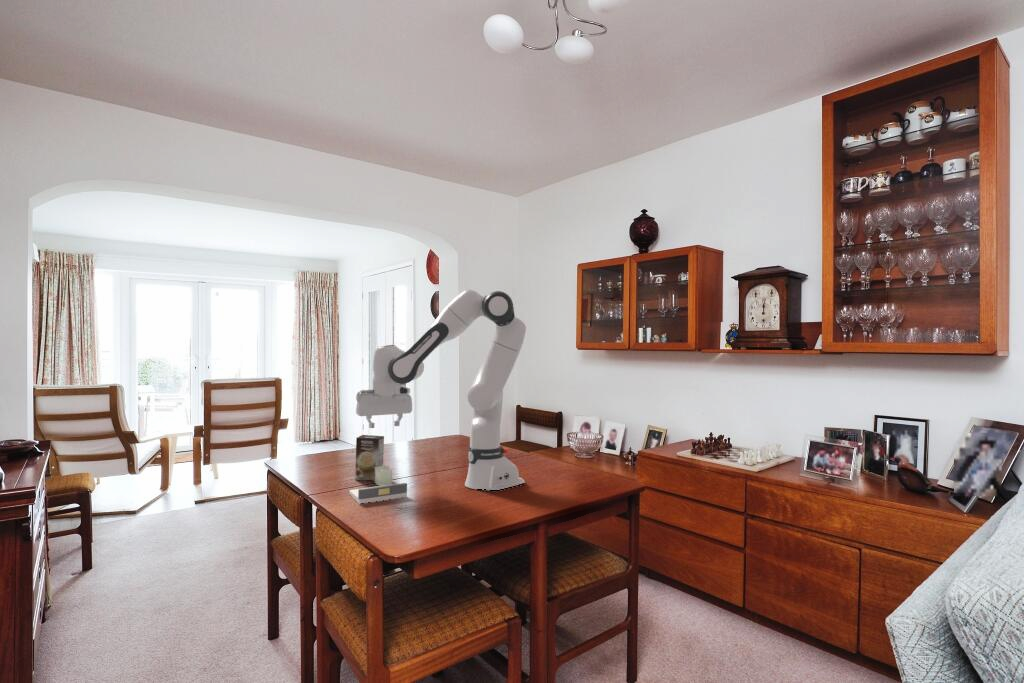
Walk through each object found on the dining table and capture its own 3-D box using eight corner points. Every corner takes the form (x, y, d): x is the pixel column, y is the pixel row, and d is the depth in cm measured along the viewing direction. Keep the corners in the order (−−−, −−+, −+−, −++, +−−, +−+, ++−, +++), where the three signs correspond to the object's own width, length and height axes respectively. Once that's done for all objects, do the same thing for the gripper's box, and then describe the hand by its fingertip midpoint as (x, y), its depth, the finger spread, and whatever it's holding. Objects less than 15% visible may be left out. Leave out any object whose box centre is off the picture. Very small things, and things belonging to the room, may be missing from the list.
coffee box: (354, 480, 191) (355, 437, 191) (360, 476, 197) (361, 434, 197) (377, 481, 190) (378, 438, 190) (383, 477, 196) (384, 435, 196)
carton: (385, 481, 190) (385, 465, 190) (391, 486, 184) (392, 469, 184) (374, 483, 188) (375, 467, 188) (380, 487, 182) (381, 471, 182)
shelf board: (394, 488, 181) (394, 475, 181) (407, 497, 171) (407, 483, 171) (349, 494, 173) (349, 481, 173) (359, 504, 162) (359, 490, 162)
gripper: (359, 391, 178) (358, 430, 178) (414, 389, 189) (413, 426, 189) (354, 389, 183) (353, 427, 183) (408, 387, 194) (407, 423, 194)
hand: (384, 427), depth 186 cm, fingers open, 8 cm apart
